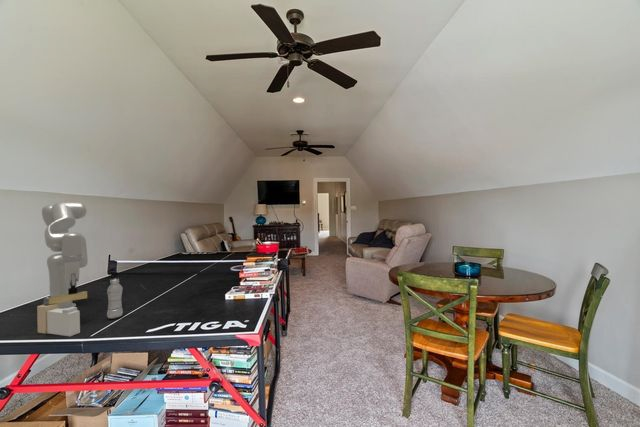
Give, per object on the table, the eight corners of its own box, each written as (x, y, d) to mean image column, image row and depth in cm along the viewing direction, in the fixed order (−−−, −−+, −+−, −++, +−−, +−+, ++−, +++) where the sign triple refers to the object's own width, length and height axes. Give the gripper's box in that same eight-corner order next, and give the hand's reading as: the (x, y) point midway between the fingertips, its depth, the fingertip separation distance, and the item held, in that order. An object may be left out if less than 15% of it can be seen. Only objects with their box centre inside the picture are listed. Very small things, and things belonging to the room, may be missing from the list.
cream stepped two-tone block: (37, 332, 127) (37, 306, 127) (50, 328, 132) (50, 302, 132) (68, 336, 122) (68, 309, 122) (81, 332, 126) (80, 305, 126)
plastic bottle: (112, 315, 147) (111, 278, 147) (125, 315, 147) (125, 277, 147) (103, 320, 140) (103, 280, 140) (118, 319, 141) (117, 280, 141)
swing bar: (43, 305, 127) (43, 298, 127) (43, 304, 129) (43, 297, 129) (87, 298, 137) (87, 291, 137) (86, 297, 139) (86, 290, 139)
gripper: (61, 258, 139) (61, 294, 139) (62, 261, 129) (63, 300, 129) (81, 256, 145) (81, 291, 145) (83, 259, 134) (84, 297, 134)
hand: (72, 295), depth 137 cm, fingers closed
